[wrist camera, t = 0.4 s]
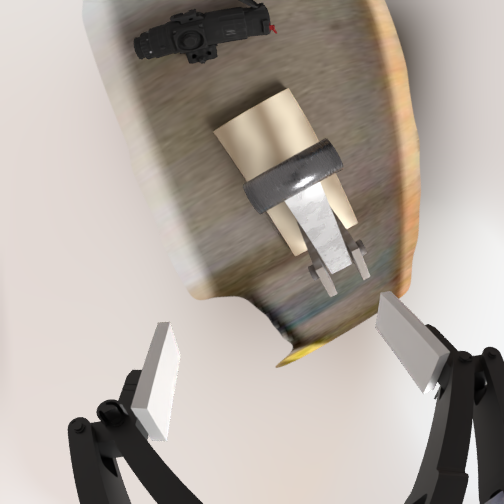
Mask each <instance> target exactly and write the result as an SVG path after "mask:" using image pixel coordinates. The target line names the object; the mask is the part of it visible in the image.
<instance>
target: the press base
mask: <svg viewBox="0 0 504 504" xmlns="http://www.w3.org/2000/svg"><path fill="white" fill-rule="evenodd" d="M213 132H214V133H215V135H216V136H217V138H218V139H219V141H220V142H221V144H222V145H223V146H224V148H225V149H226V151H227V152H228V154H229V155H230V157H231V158H232V160H233V161H234V163H235V164H236V166H237V167H238V169H239V170H240V171H241V173H242V174H243V176H244V177H245V179H246V180H247V182H248V181H249V180H251V179H253V178H255V177H256V176H258V175H260V174H261V173H263V172H265V171H267V170H268V169H270V168H272V167H274V166H275V165H277V164H279V163H281V162H283V161H284V160H286V159H288V158H290V157H292V156H293V155H295V154H297V153H299V152H301V151H303V150H304V149H306V148H308V147H310V146H312V145H314V144H316V143H318V142H319V140H318V138H317V136H316V134H315V132H314V131H313V129H312V127H311V125H310V123H309V122H308V120H307V118H306V116H305V115H304V113H303V111H302V109H301V108H300V106H299V104H298V103H297V101H296V99H295V98H294V96H293V94H292V93H291V91H290V90H289V88H287V89H285V90H283V91H281V92H279V93H277V94H275V95H273V96H271V97H270V98H268V99H266V100H264V101H262V102H261V103H259V104H257V105H255V106H253V107H252V108H250V109H248V110H247V111H245V112H243V113H241V114H240V115H238V116H236V117H235V118H233V119H231V120H230V121H228V122H227V123H225V124H223V125H222V126H220V127H219V128H217V129H216V130H214V131H213ZM320 183H321V186H322V188H323V190H324V193H325V195H326V198H327V200H328V202H329V205H330V207H331V210H332V212H333V215H334V217H335V220H336V222H337V225H338V227H339V230H340V233H341V235H342V238H343V241H344V243H345V246H346V249H347V252H348V253H349V255H350V257H351V259H352V260H353V262H354V264H355V266H356V267H357V269H358V271H359V273H360V275H361V276H362V278H363V280H365V279H367V278H369V277H370V274H369V272H368V269H367V266H366V264H365V261H364V259H363V255H365V254H367V251H366V249H365V247H364V245H363V243H362V241H361V240H358V241H356V242H355V241H354V240H353V238H352V237H351V235H350V234H349V232H348V231H347V229H348V228H349V227H351V226H353V225H355V224H357V223H358V222H357V219H356V217H355V215H354V212H353V210H352V208H351V205H350V203H349V201H348V199H347V196H346V194H345V192H344V190H343V188H342V186H341V184H340V181H339V179H338V177H337V175H336V173H335V174H333V175H331V176H329V177H328V178H326V179H324V180H322V181H320ZM267 212H268V214H269V216H270V217H271V219H272V220H273V222H274V223H275V225H276V226H277V228H278V230H279V231H280V233H281V234H282V236H283V237H284V239H285V241H286V242H287V244H288V245H289V247H290V249H291V250H292V252H293V253H294V255H295V256H297V255H299V254H301V253H302V252H304V251H306V250H308V252H309V255H310V257H311V260H312V263H313V265H311V266H309V267H308V269H309V272H310V274H311V276H312V278H313V279H314V281H315V280H317V279H319V278H320V279H321V281H322V283H323V285H324V286H325V288H326V290H327V292H328V294H329V295H330V297H332V296H334V295H336V294H337V291H336V289H335V286H334V284H333V282H332V279H331V277H330V274H329V272H328V270H327V267H326V265H325V263H324V261H323V259H322V257H321V256H320V254H319V253H318V251H317V250H316V248H315V246H314V245H313V243H312V242H311V240H310V239H309V237H308V236H307V234H306V233H305V231H304V230H303V228H302V227H301V225H300V224H299V222H298V221H297V219H296V218H295V216H294V215H293V213H292V212H291V210H290V209H289V207H288V206H287V204H286V203H285V201H284V202H282V203H280V204H278V205H276V206H275V207H273V208H271V209H269V210H267Z"/></svg>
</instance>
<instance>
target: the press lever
mask: <svg viewBox="0 0 504 504" xmlns="http://www.w3.org/2000/svg"><path fill="white" fill-rule="evenodd" d="M341 170H343V164H342V161H341V159H340V157H339V155H338V153H337V152H336V150H335V148H334V147H333V145H332V144H331V143H330V141H329V140H328V139H326V138H325V139H323V140H321V141H320V142H318V143H316V144H314V145H312V146H310V147H308V148H306V149H304V150H303V151H301V152H299V153H297V154H295V155H293V156H292V157H290V158H288V159H286V160H284V161H283V162H281V163H279V164H277V165H275V166H274V167H272V168H270V169H268V170H267V171H265V172H263V173H261V174H260V175H258V176H256V177H255V178H253V179H251V180H249V181H248V182H246V183H244V184H243V188H244V191H245V193H246V195H247V197H248V199H249V200H250V202H251V204H252V205H253V207H254V208H255V209H256V211H257V212H258V213H259V214H262V213H264V212H266V211H267V210H269V209H271V208H273V207H275V206H276V205H278V204H280V203H282V202H284V201H285V203H286V204H287V206H288V207H289V209H290V210H291V212H292V213H293V215H294V216H295V218H296V219H297V221H298V222H299V224H300V225H301V227H302V228H303V230H304V231H305V233H306V234H307V236H308V237H309V239H310V240H311V242H312V243H313V245H314V246H315V248H316V250H317V251H318V253H319V254H320V256H321V257H322V259H323V261H324V262H325V264H326V265H327V267H328V269H329V270H330V272H331V273H332V274H333V273H335V272H337V271H339V270H341V269H343V268H345V267H347V266H349V265H351V264H352V263H351V260H350V257H349V254H348V252H347V249H346V246H345V243H344V241H343V238H342V235H341V233H340V230H339V227H338V225H337V222H336V220H335V217H334V215H333V212H332V210H331V207H330V205H329V202H328V200H327V198H326V195H325V193H324V190H323V188H322V186H321V183H320V181H322V180H324V179H326V178H328V177H329V176H331V175H333V174H335V173H337V172H339V171H341Z"/></svg>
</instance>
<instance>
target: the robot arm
mask: <svg viewBox="0 0 504 504" xmlns="http://www.w3.org/2000/svg"><path fill="white" fill-rule="evenodd" d="M375 328H376V329H377V331H378V332H379V333H380V335H381V336H382V337H383V339H384V340H385V341H386V342H387V344H388V345H389V346H390V348H391V349H392V351H393V352H394V353H395V355H396V356H397V357H398V359H399V360H400V362H401V363H402V364H403V366H404V367H405V368H406V370H407V371H408V373H409V374H410V376H411V377H412V378H413V380H414V381H415V383H416V384H417V386H418V387H419V388H420V390H421V391H422V393H423V394H424V393H426V392H429V391H431V390H433V389H434V388H435V386H436V383H437V382H438V383H439V384H440V388H439V390H438V392H437V394H436V395H435V398H434V399H436V398H437V402H436V408H435V413H434V418H433V422H432V427H431V431H430V436H429V439H428V443H427V447H426V450H425V454H424V457H423V461H422V464H421V467H420V470H419V473H418V476H417V479H416V482H415V484H414V487H413V489H412V492H411V494H410V495H409V497H408V498H407V500H406V501H405V503H404V504H462V502H463V499H464V495H465V492H466V488H467V484H468V478H469V476H468V474H466V473H465V467H466V462H467V456H468V450H469V444H470V437H471V428H472V419H473V423H474V429H475V438H476V448H477V460H478V486H479V487H478V488H479V501H480V504H504V361H503V358H502V356H501V354H500V352H499V351H498V350H497V349H496V348H493V347H487V348H485V349H484V350H483V353H482V355H478V356H472V355H471V354H470V353H468V352H466V351H457V349H456V348H455V347H454V346H453V345H452V344H451V343H450V342H449V341H448V340H447V339H446V338H444V336H443V335H442V334H441V333H440V332H439V331H438V330H437V329H436V328H435V327H433V326H431V325H429V324H427V325H424V324H423V323H422V322H421V321H420V320H419V319H418V318H417V317H416V316H415V315H414V314H413V313H412V312H411V311H410V310H409V309H408V308H407V307H406V306H405V305H404V304H403V303H402V302H401V301H400V300H399V299H398V298H397V297H396V296H395V295H394V294H393V293H392V292H391V291H388V292H384V293H381V295H380V302H379V309H378V315H377V321H376V327H375ZM180 357H181V356H180V353H179V349H178V346H177V343H176V340H175V336H174V333H173V330H172V326H171V323H170V322H160V323H158V325H157V328H156V330H155V334H154V336H153V339H152V342H151V345H150V348H149V351H148V354H147V357H146V360H145V363H144V366H143V369H142V370H132V371H131V372H130V373H129V375H128V376H127V378H126V380H125V385H124V386H123V389H122V390H123V391H122V392H121V395H120V398H119V400H118V401H117V400H106V401H104V402H102V403H101V404H100V405H99V406H98V408H97V416H98V418H99V419H100V420H101V421H100V422H94V423H90V422H89V421H88V420H87V419H86V418H83V417H78V418H76V419H73V420H72V421H71V422H70V423H69V425H68V439H69V447H70V455H71V462H72V468H73V473H74V479H75V484H76V488H77V493H78V497H79V501H80V504H131V502H130V499H129V497H128V494H127V491H126V488H125V486H124V483H123V480H122V477H121V474H120V471H119V468H118V464H117V461H116V457H124V459H125V460H126V461H127V463H128V465H129V466H130V468H131V469H132V470H133V472H134V473H135V475H136V476H137V477H138V479H139V480H140V482H141V483H142V484H143V486H144V487H145V488H146V490H147V491H148V492H149V493H150V495H151V496H152V497H153V499H154V500H155V501H156V502H157V503H158V504H203V503H202V502H201V501H200V500H199V499H198V498H197V497H196V496H195V495H194V494H193V493H192V492H191V491H190V490H189V489H188V488H187V487H186V486H185V485H184V484H183V483H182V482H181V481H180V480H179V478H178V477H177V476H176V475H175V474H174V473H173V472H172V471H171V470H170V468H169V467H168V466H167V465H166V464H165V463H164V461H163V460H162V459H161V458H160V457H159V455H158V454H157V453H156V452H155V450H153V448H152V447H151V445H150V444H149V443H148V441H147V439H148V435H149V437H150V438H151V439H152V440H153V441H167V437H168V430H169V423H170V417H171V410H172V404H173V397H174V392H175V386H176V380H177V374H178V368H179V363H180Z"/></svg>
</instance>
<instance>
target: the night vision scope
mask: <svg viewBox="0 0 504 504" xmlns="http://www.w3.org/2000/svg"><path fill="white" fill-rule="evenodd" d="M239 1H241V2H243V3H245V4H247V5H249V6H251V8H242V7H238V8H231V9H224V10H218V11H213V12H208V13H205V14H203V13H201V12H197V13H196V9H194V10H189V12H187V13H185V14H183V13H179V14H176V15H173V16H171V18H170V20H171V22H167V23H166V24H164V25H160V26H157V27H154V28H151V29H149V31H147V32H144V33H142V34H141V35H140V37H138V38H135V39H134V48H135V52H136V54H137V56H138V57H139V59H143V58H145V57H146V58H147V59H151V58H154V57H156V58H159V57H162V56H165V55H169V54H172V53H174V54H176V53H179V52H180V54H181V53H186V55H187V59H188V62H189V63H196V62H200V63H201V64H202V63H205V61H206V60H209V59H214V58H216V57H217V56H218V55H217V49H216V46H218V45H217V44H218V43H224V42H229V41H236V40H242V39H247V38H248V37H249V36H258V35H268V34H270V32H271V30H273V31H274V32H275V33H277V32H276V30H275V26H274V25H270V18H269V13H268V10H267V8H266V7H265V5H263V3H259V4H257V3H256V2H255V1H253V0H239Z"/></svg>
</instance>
